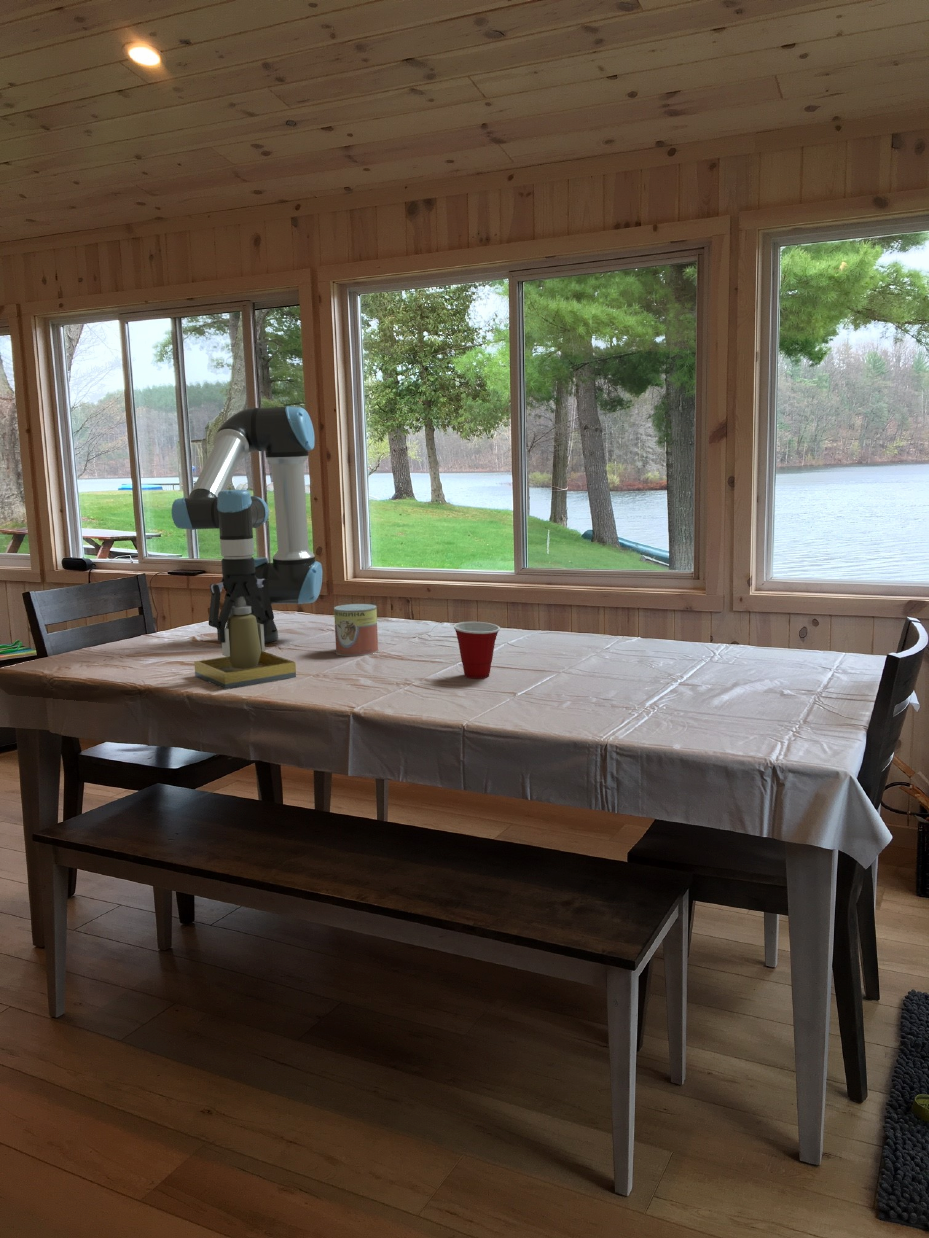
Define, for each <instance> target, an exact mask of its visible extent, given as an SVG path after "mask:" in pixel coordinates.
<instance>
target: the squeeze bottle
mask: <svg viewBox="0 0 929 1238" xmlns="http://www.w3.org/2000/svg"><path fill="white" fill-rule="evenodd" d="M250 613H252V611H251V606H249V605H246V601H245V598H244V596H241V597H239V598H236V604H235V606H233V607H232V608H231V614H233V615H232V616H230V617H229V618H228V620H227V623H226V624H227V629H229V644H230V657H228V658H229V661H230V663H231V665H232V667H233V668H238V669H246V668H252V667H255V666H257V665H258V661H259V657H260V654H261V645H260V639H259V633H258V627H257V621H256V617H255V616H254V615H252V614H250Z"/></svg>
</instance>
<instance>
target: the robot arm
mask: <svg viewBox="0 0 929 1238" xmlns="http://www.w3.org/2000/svg"><path fill="white" fill-rule="evenodd" d="M315 439H316V437H315V430H314V426H313V422H312V419H311V417H310V414H309V413H308V411H307V410H306V409H305V408H303V407H299V406H289V405H288V406H276V407H275V406H274V407H273V406H272V407H271V406H270V407H249V408H246V409H243V410H240V411H238V412H236V413H234V414H233V415H232V416H230V417H229V418H227V419H226V421H224V422H223V423H222V424H221V426H220V427H219V428H218V429H217V432H215V435H214V437H213V442H212V443H213V444H212V445H213V447H212V449H211V452H210V453H209V456H208V457H207V460H206V461H205V463H204V465H203V467H202V470H201V472H200V473H199V475H198V476H197V480H196V481H195V484H194V486H193V488H192V489H191V492H190V493H189V495H188V497H180V498H177V499H174V500H173V503H172V505H171V518H172V521H173V525H174V526H175V527H176V528H178V529H180V530H192V531H193V530H213V529H214V530H216V529H218V530H219V545H220V547H219V548H220V556H221V557H223V558H222V559H221V562H220V563H221V575H222V579H221V582H218V583H210V584H209V589H210V594H211V596H210V604H209V615H208V626H210V627H212V628H215V629H216V630H217V631H216V632H217V642H219V643H221V652H222V656H223V657H230V644H229V629H227V620H228V618H229V617H230V616H232V615H233V614H231V608H232V607H233V606H235V604H236V598H239V597H241V596H244V598H245V601H246V605H249V606H251V611H252V613H250V614H252V615H254V616H255V617H256V621H257V627H258V633H259V639H260V645H261V651H262V652H263V651H264V652H266V647H265V645H266V644H267V643H272V642H275V641H277V640H279V631H278V628H277V626H276V625H277V624H276V623H275V621H274V618H275V616H274V610H273V606H272V605H277V604H278V605H279V604H282V605H283V604H285V605H286V604H290V605H291V604H293V605H294V604H295V605H296V604H298V605H302V604H312V603H314V602H316V601H317V600H318V598H319V595H320V594H321V589H322V586H323V585H322V584H323V583H322V582H323V565H322V563H321V562H319V561H317V560H316V557H315V556H316V555H315V553H314V552H312V551H311V550H310V548H309V535H308V534H309V531H308V519H307V518H308V516H307V499H306V483H305V482H306V480H305V466H304V464H305V462H306V461H307V459H308V458H309V456H310V455H309V452H310V451H312V450H313V449H314V448H315ZM253 452H264V453H265V459H266V460H267V461H268V462H269V463H270V464H271V470H272V471H271V473H272V486H273V500H274V513H275V514H274V517H275V529H276V530H275V531H276V541H277V542H276V543H277V544H276V545H277V552H276V553H275V554H274V555H273V556H272V562H269V560H268V557H256V558H254V557H253V556H254V555H255V547H254V546H255V544H254V543H255V542H254V535H253V534H254V529H258V527H260V526H263V524H265V523H266V522H267V521H268V518H269V516H270V508H269V506H268V504H267V502H266V501H265V500H264V499H263V498H261V497H259V496H256V495H255V496H254V495H252V496H251V492H250V491H249V490H248V489H228V488H229V486H230V484H231V481H232V480H233V477H234V475H235V473H236V471H237V469H238V467H239V464H240V462H241V460H243V459H245V458H246V457H247V456H248V454H249V453H253ZM223 589H224V590H225V595H224V601H223V603H222V606H220V605H221V604H220V603H221V593H222V591H223ZM220 607H221V608H220ZM220 609H221V610H220Z"/></svg>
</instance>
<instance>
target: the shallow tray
mask: <svg viewBox="0 0 929 1238" xmlns="http://www.w3.org/2000/svg"><path fill="white" fill-rule="evenodd" d="M193 663H194V665H193V666H194V676H195V677H196V678H199V679H200V680H203V681H205V682H208V683H209V684H212V685H214V686H217V687H219V688H221V689H224V690H230V689H236V688H242V687H248V686H252V685H259V684H264V683H265V684H266V683H269V682H275V681H277V682H278V681H281V680H288V679H292V678H293V679H294V678H297V670H296V669H297V666H296V661H293V660H291V659H287V658H285V657H281V656H278V655H275V654H272V653H269V652H266V651H263V652H262V651H261V654H260V657H259V661H258V665H257V666H255V667H252V668H246V669H238V668H233V667H232V665H231V663H230V661H229V658H228V657H226V656H223V657H222V656H221V657H215V658H209V659H208V658H207V659H202V660H195V661H194V662H193Z"/></svg>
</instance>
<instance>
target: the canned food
mask: <svg viewBox="0 0 929 1238" xmlns="http://www.w3.org/2000/svg"><path fill="white" fill-rule="evenodd" d="M377 607H378V606H377V605H375V604H371V603H350V604H349V603H348V604H341V605H337V606H333V612H334V614H333V615H334V631H335V632H334V633H335V634H334V635H335V636H334V637H335V654H336V655H339V656H342V657H343V656H344V657H346V656H347V657H360V656H362V657H363V656H369V655H373V653H374V654H376V652H377V653H378V652H379V639H378V637H379V636H378V634H379V633H378V616H377V615H378V613H377V612H378V611H377V610H378V609H377Z"/></svg>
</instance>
